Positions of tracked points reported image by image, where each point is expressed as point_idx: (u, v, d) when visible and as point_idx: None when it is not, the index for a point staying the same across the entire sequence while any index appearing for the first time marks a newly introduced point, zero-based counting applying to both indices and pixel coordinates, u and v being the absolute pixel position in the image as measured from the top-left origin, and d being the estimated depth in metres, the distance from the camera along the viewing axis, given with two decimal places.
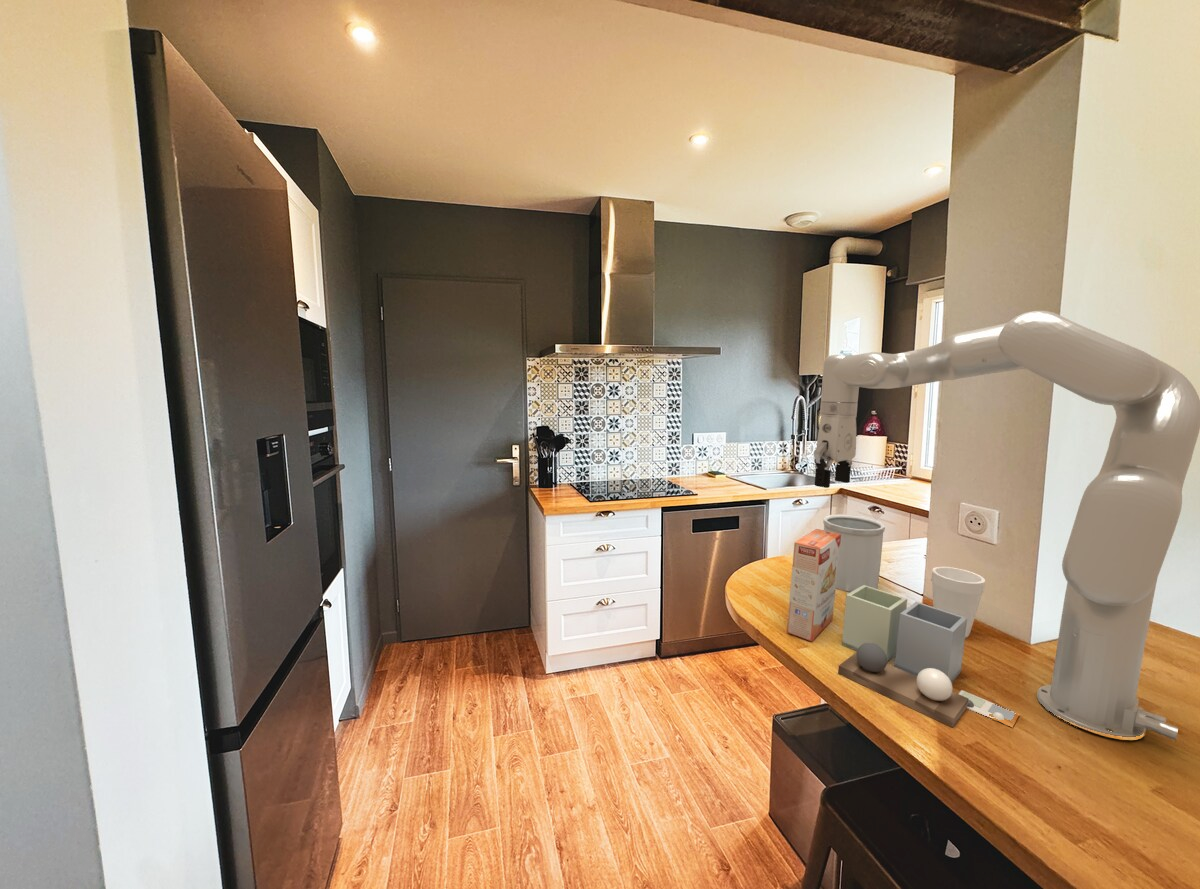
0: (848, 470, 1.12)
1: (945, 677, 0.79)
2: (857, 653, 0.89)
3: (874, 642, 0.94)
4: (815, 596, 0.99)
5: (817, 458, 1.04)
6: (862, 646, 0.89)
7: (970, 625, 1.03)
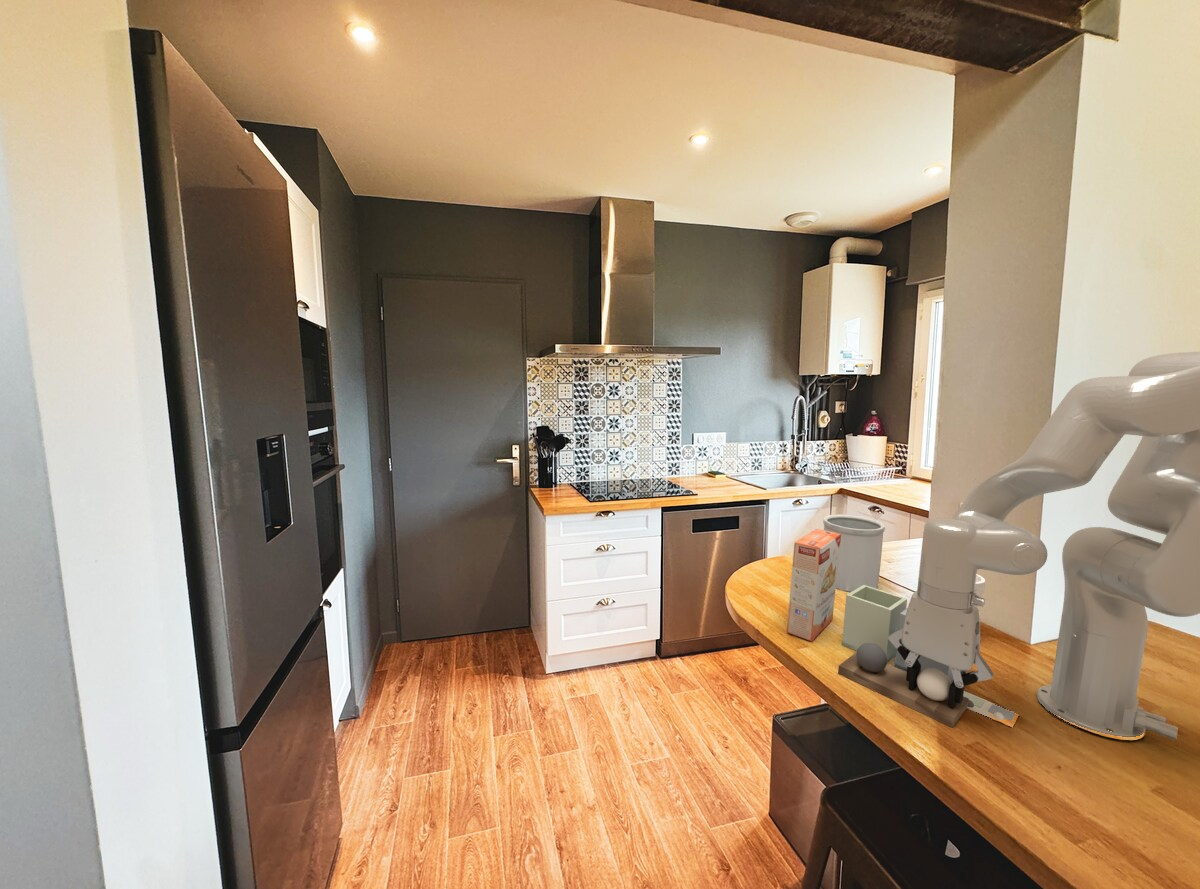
0: None
1: (945, 677, 0.79)
2: (857, 653, 0.89)
3: (874, 642, 0.94)
4: (815, 596, 0.99)
5: None
6: (862, 646, 0.89)
7: None
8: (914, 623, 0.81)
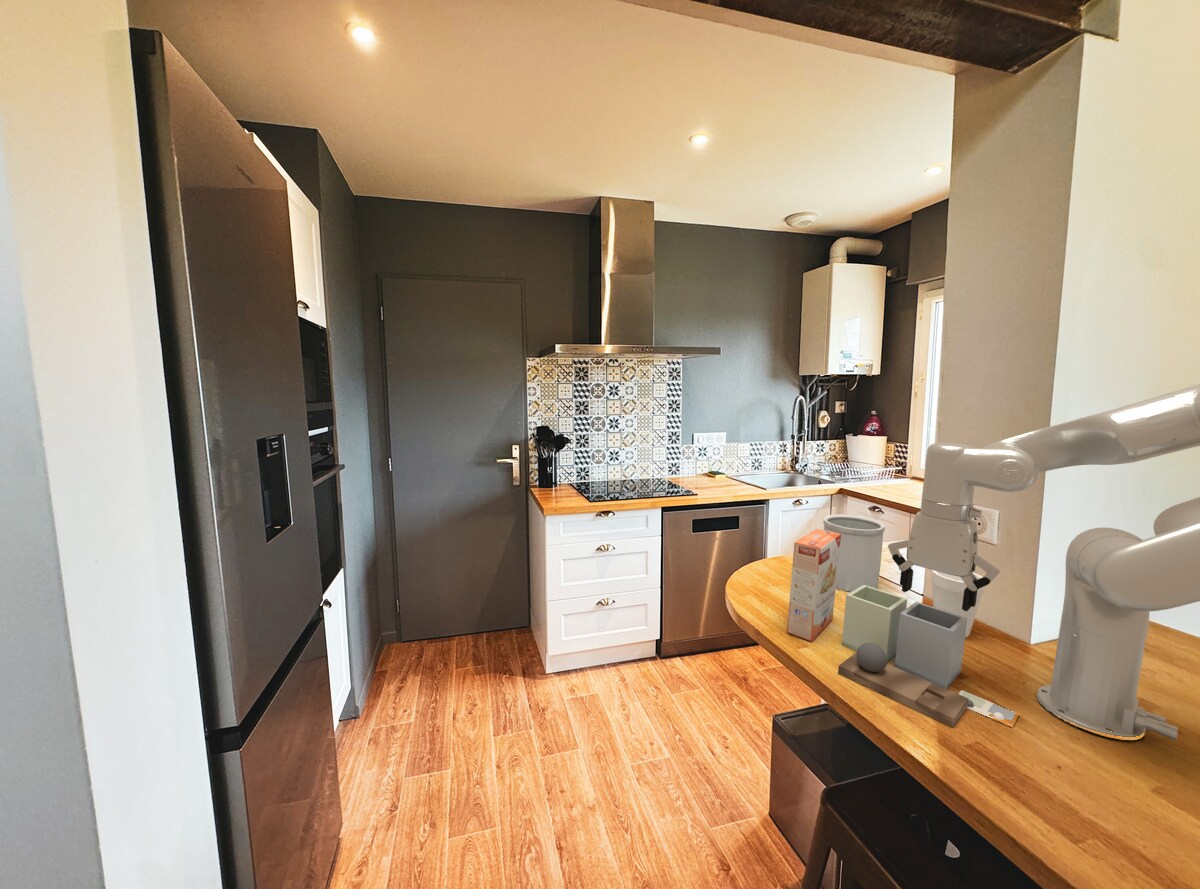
0: None
1: None
2: (857, 653, 0.89)
3: (874, 642, 0.94)
4: (815, 596, 0.99)
5: None
6: (862, 646, 0.89)
7: (970, 625, 1.03)
8: (918, 538, 0.89)
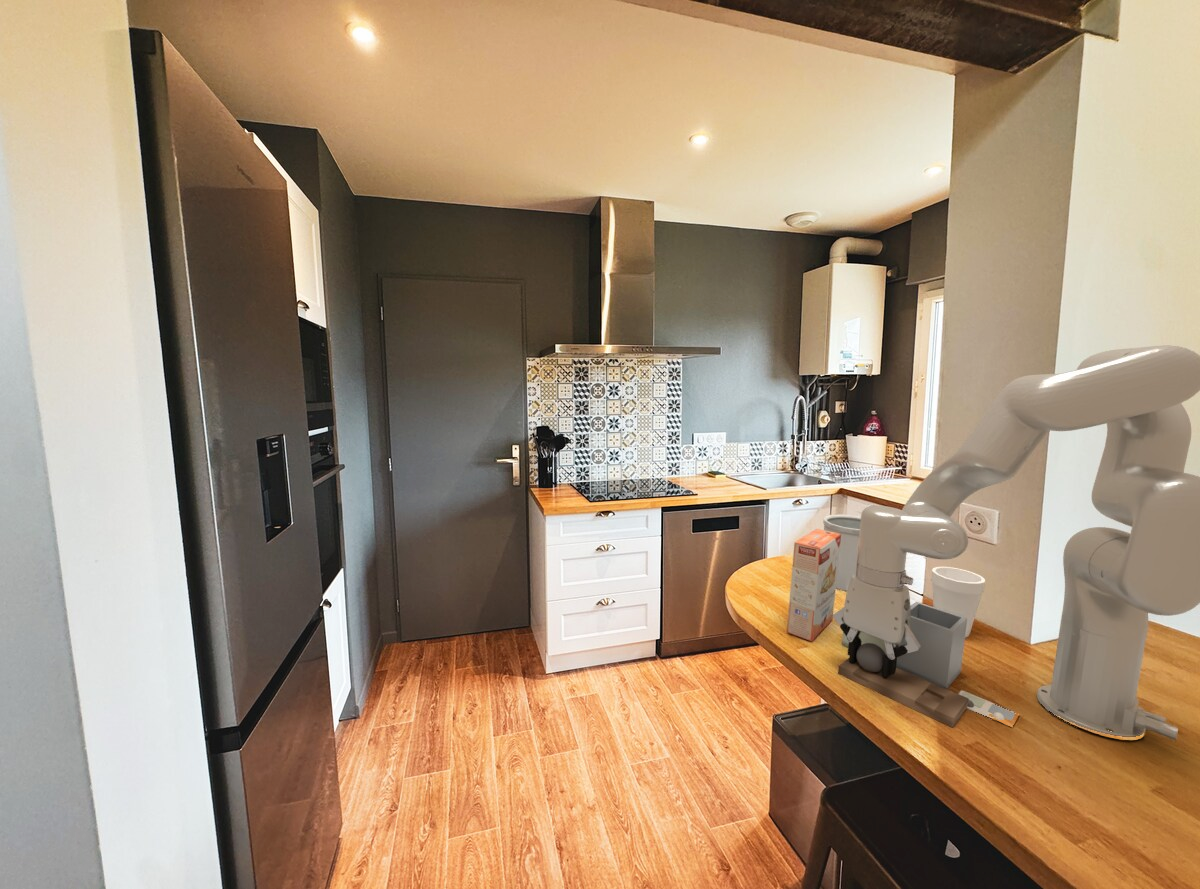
0: None
1: None
2: (857, 653, 0.89)
3: (874, 642, 0.94)
4: (815, 596, 0.99)
5: None
6: (862, 646, 0.89)
7: (970, 625, 1.03)
8: (853, 601, 0.88)
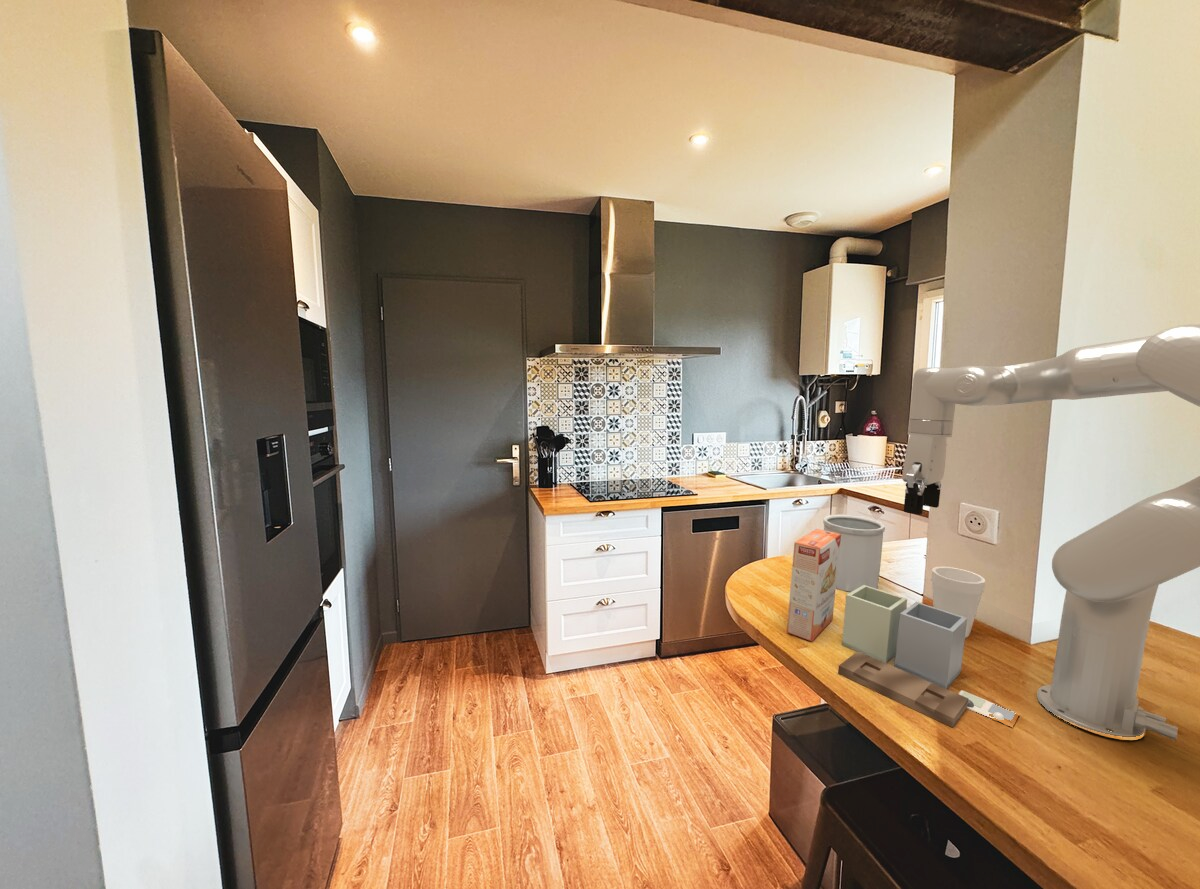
0: None
1: None
2: None
3: (874, 642, 0.94)
4: (815, 596, 0.99)
5: None
6: None
7: (970, 625, 1.03)
8: (934, 458, 0.95)
